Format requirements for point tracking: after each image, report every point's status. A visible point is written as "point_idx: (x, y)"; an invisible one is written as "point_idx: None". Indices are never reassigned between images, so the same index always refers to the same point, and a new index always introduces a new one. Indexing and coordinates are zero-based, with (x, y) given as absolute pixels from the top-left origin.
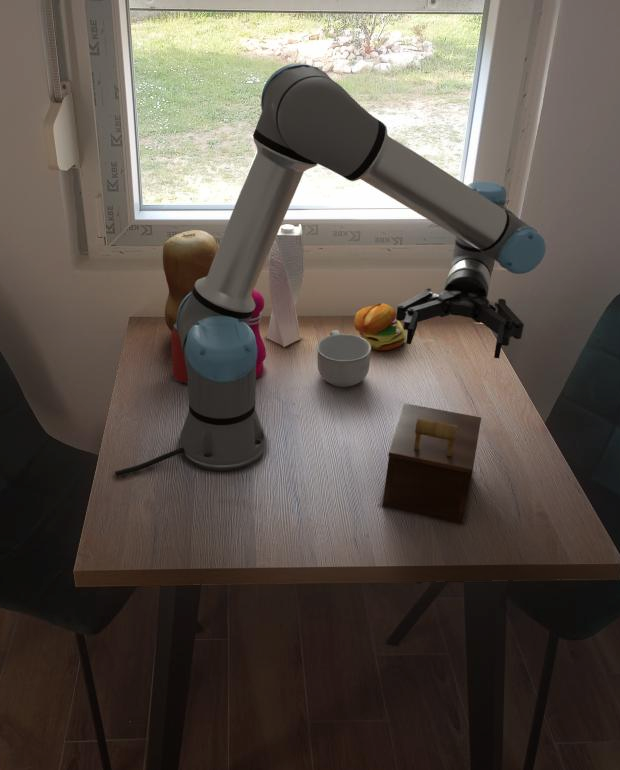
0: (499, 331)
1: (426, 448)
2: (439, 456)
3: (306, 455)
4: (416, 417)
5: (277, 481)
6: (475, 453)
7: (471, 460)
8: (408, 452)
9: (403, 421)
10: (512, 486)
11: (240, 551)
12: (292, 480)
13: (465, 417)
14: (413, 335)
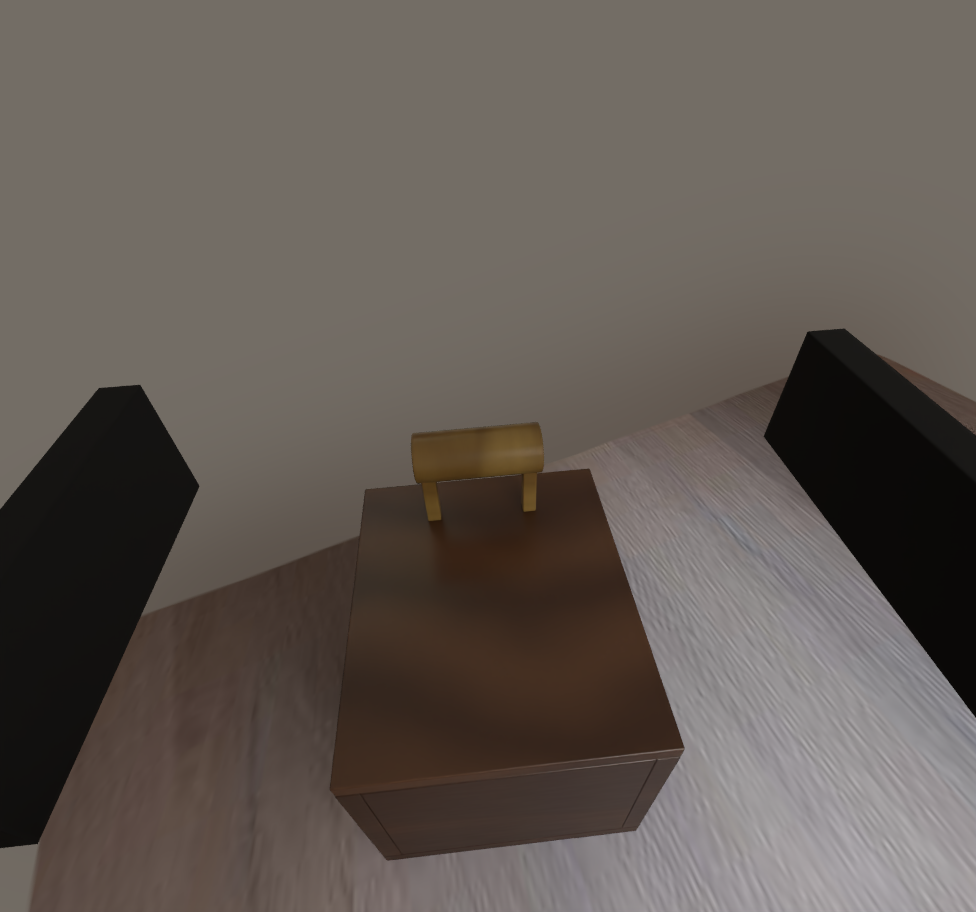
0: (12, 550)
1: (501, 516)
2: (458, 501)
3: (869, 707)
4: (589, 657)
5: (829, 578)
6: (358, 551)
7: (369, 516)
8: (542, 484)
9: (621, 613)
10: (248, 847)
11: (727, 422)
12: (806, 595)
13: (400, 753)
14: (834, 513)
